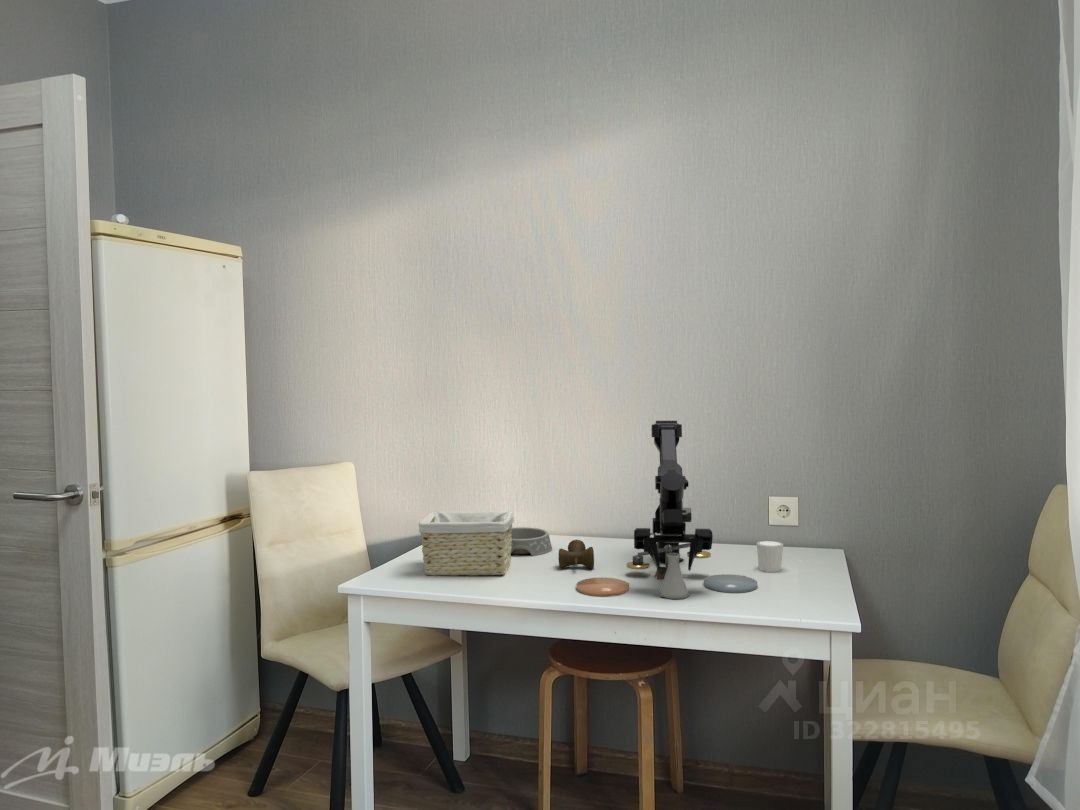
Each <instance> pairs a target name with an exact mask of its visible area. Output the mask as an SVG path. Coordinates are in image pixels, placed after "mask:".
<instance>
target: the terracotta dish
mask: <svg viewBox="0 0 1080 810" xmlns="http://www.w3.org/2000/svg"><path fill="white" fill-rule="evenodd" d="M575 586H576V588H575V589H576V592H578V593H580V594H582V595H586V596H591V597H615V596H621V595H623V594H626V593H628V592H629V591H630V583H629V582H627V581H626V580H623V579H619V578H614V577H591V578H584V579H582V580H581V579H580V580H578V581H577V583H576V585H575Z"/></svg>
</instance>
